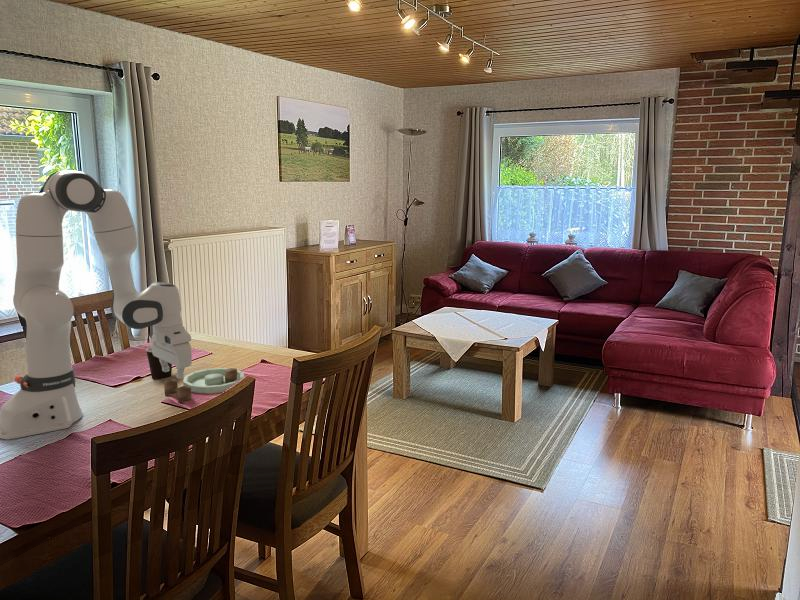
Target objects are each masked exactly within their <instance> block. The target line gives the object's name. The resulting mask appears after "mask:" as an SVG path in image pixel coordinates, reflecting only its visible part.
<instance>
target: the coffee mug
mask: <svg viewBox="0 0 800 600" xmlns="http://www.w3.org/2000/svg"><path fill="white" fill-rule="evenodd" d="M145 351H146V356H147V359H148V360H147V361H148V366H149V370H150V375H151V379H153V380H163V379H167V378H171V377H172V372H173V371H172V370H173V369H172V368H173V364H170V363H168V362H167V363H168V366H169V369H170V370H169V371H168V372H164V371H162V366H161V363H160V361H159V358H158V357H155V356H154V355H153V353H152V346H150V347H147V348H146V350H145Z"/></svg>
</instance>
